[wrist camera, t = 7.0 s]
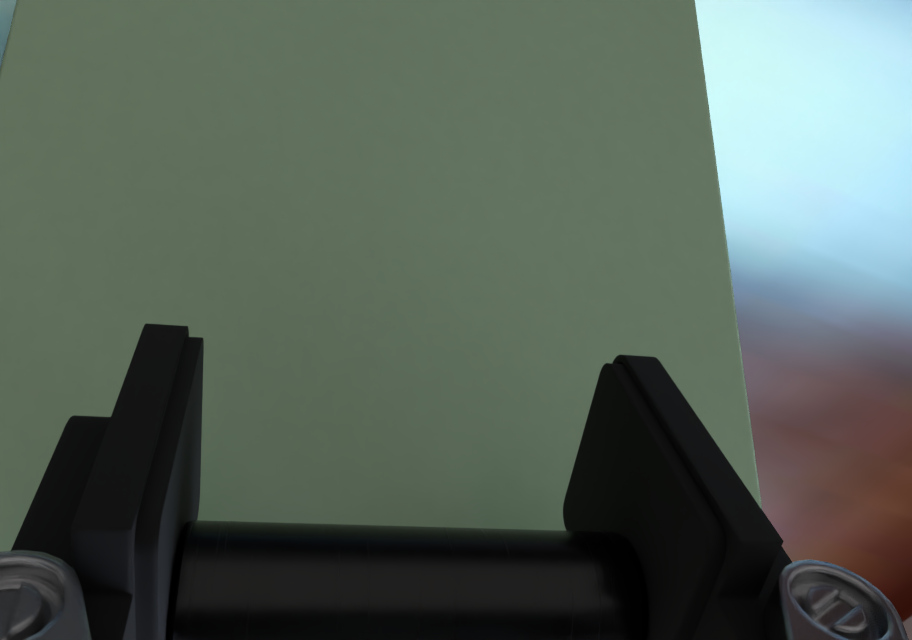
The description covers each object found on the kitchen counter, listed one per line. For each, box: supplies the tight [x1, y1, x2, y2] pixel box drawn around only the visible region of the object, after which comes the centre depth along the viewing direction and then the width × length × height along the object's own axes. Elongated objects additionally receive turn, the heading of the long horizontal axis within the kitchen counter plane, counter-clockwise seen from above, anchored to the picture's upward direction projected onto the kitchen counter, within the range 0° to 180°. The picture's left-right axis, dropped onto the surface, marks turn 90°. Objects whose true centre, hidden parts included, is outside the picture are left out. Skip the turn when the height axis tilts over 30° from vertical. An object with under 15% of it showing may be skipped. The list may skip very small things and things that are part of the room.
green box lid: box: [0, 0, 762, 640], centre depth 14 cm, size 17×14×5 cm
